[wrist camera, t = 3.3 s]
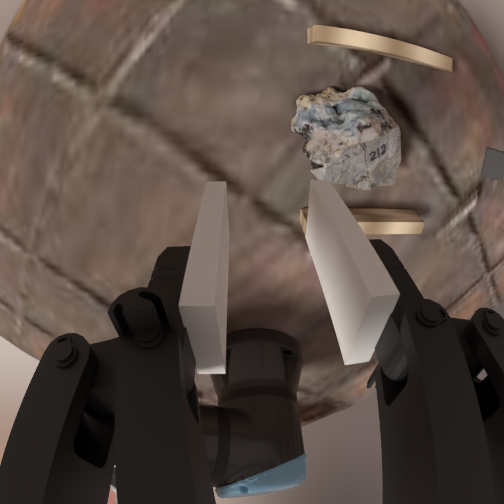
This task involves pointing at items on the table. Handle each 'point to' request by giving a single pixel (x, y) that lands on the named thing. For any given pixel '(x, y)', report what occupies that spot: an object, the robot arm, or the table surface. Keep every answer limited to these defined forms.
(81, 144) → the table surface
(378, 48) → the wooden slats
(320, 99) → the mineral specimen
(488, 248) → the table surface
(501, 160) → the dark gray rectangular slab
